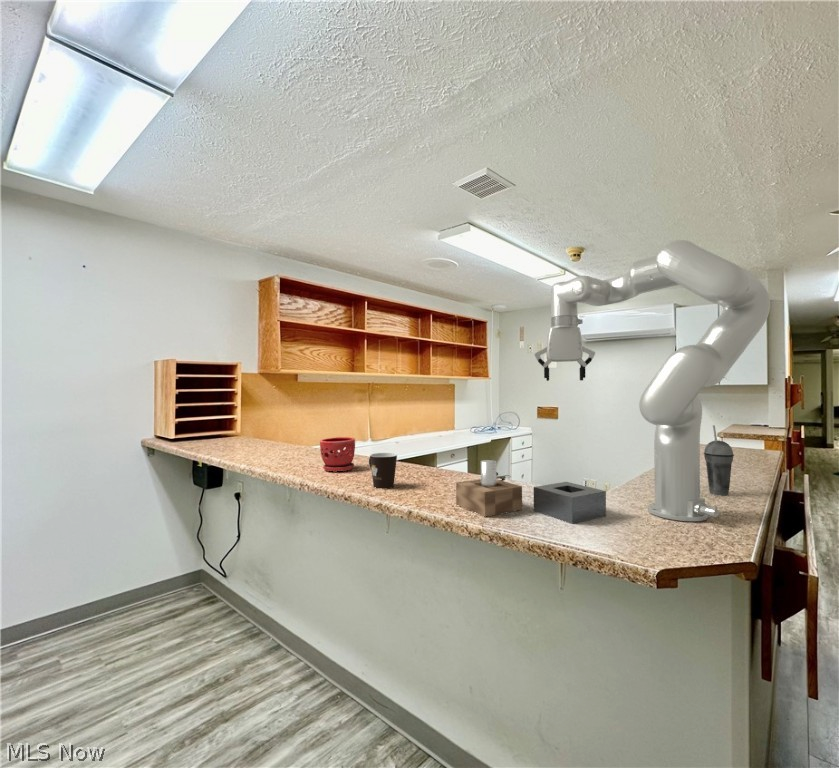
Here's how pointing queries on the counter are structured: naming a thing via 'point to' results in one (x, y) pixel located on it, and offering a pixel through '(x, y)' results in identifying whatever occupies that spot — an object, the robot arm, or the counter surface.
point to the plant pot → (337, 453)
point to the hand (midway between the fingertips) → (564, 380)
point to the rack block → (489, 497)
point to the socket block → (570, 502)
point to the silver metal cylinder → (488, 473)
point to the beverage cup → (718, 466)
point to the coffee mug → (383, 469)
